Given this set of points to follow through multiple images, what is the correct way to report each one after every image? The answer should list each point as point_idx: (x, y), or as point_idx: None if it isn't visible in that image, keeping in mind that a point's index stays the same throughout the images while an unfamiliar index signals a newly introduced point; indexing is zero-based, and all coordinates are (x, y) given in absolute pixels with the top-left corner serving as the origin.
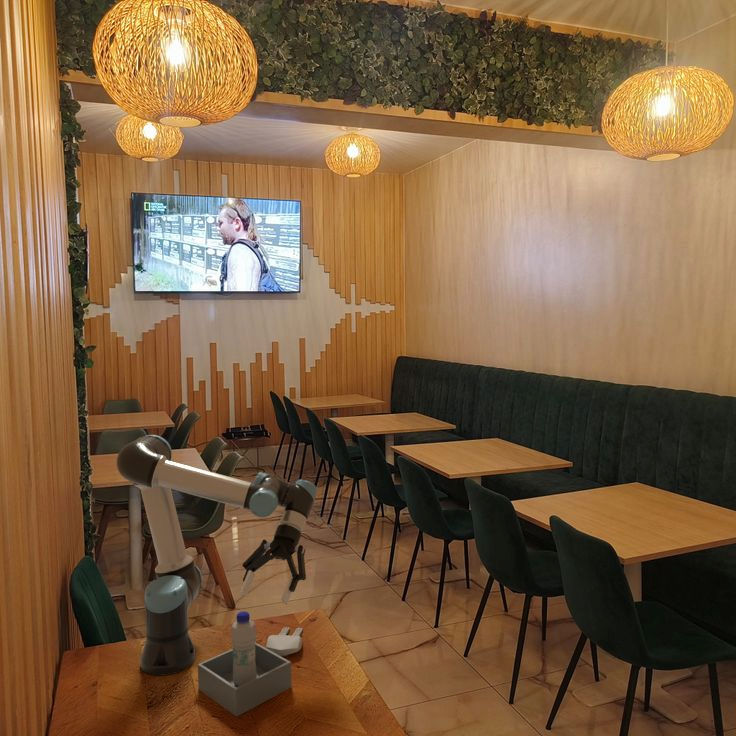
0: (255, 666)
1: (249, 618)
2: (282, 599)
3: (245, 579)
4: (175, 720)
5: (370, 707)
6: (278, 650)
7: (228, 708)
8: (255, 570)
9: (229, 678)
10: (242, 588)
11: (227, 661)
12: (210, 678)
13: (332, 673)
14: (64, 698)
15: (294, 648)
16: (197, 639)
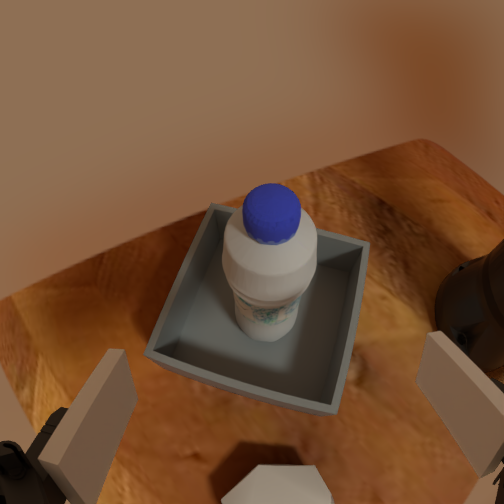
0: (237, 313)
1: (246, 228)
2: (114, 350)
3: (482, 374)
4: (312, 191)
5: (9, 352)
6: (265, 465)
7: None
8: (499, 490)
9: (317, 322)
10: (445, 343)
11: (344, 327)
12: None
13: None
14: (479, 179)
15: (227, 493)
16: None
